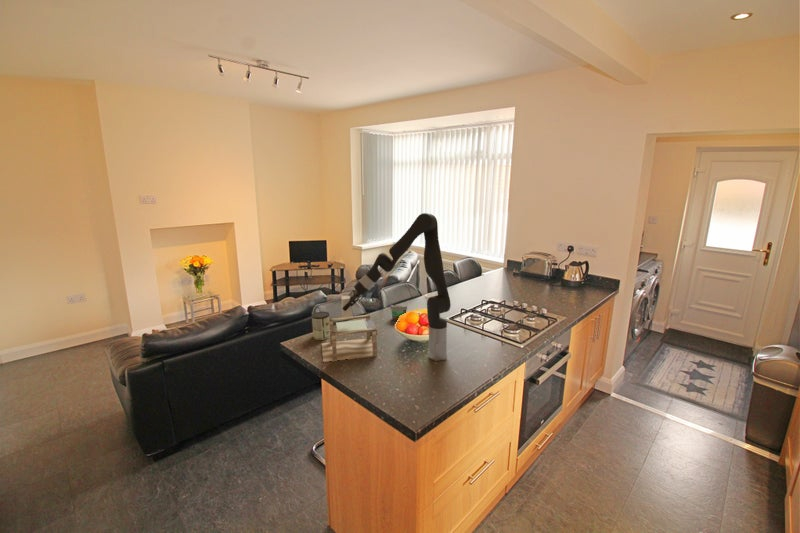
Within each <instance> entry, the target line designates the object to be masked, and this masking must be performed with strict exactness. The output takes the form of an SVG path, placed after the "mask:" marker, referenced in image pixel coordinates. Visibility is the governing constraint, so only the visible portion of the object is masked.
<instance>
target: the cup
mask: <svg viewBox="0 0 800 533" xmlns="http://www.w3.org/2000/svg"><path fill="white" fill-rule="evenodd" d="M437 295H438V293H437V292H429V293H426V294H424V298H425V300H426V302H427V301H428V299H429V298H430V297H432V296H437ZM439 316H440V317H441V313H440V314H439Z"/></svg>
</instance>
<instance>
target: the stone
mask: <svg viewBox="0 0 800 533" xmlns="http://www.w3.org/2000/svg"><path fill="white" fill-rule="evenodd" d="M350 297H351V296H348V295H344V296H343V295H342V296H341V298H340V299H341V300H340V301H341V314H342V317H351V316H353V306H350V307H349V308H348V309H347V310H346V311H344V310H343V307H344V306H345V305H346V304H347V302H348V301H349V299H350ZM351 303H352V302H351Z"/></svg>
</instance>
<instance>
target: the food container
mask: <svg viewBox="0 0 800 533" xmlns="http://www.w3.org/2000/svg"><path fill="white" fill-rule="evenodd" d="M389 309H390V313H391V320H392V319H393V320H392V321H394V322H398V321H397V320H398V318H399V316H400V315H402V314H404V313H406V314H407V310H408V306H407V305H405V306H402V305H393V303H391V304H390V305H389Z"/></svg>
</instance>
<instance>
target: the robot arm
mask: <svg viewBox="0 0 800 533" xmlns="http://www.w3.org/2000/svg"><path fill="white" fill-rule="evenodd" d="M438 225H439V224H438V219H437V218H436V216H435V215H433V214H432V213H429V212H422V213H420V214H419V215H418V216H417V218H415V220H414V221H413V223H412V224H411V225H410V226H409V228H408V229H407V230H406V232H404V234H403V235H402V236H401V237H400V238H399V239H398V240H397V241H396V242H395V243H394V244H393V245H392V246H391V247H390V248H389V250H388V252H389V254H390V256H391V257H392V258H391V257H389V255H387V254H386V253H385V252H381V253H380V254H378V255H377V257H376V258H375V260H374V263H373V264H372V266H371V268H370V269H369V270H368V271H367V272H366V273H365V274H364V275H363V276H362V277H361V278H360V279H359V280H358V281H357V283H355V285H354V287H353V288H354V289H352V290H351V291H350V293H349V294H348V295H347V296H351V297H350V299H349V301H348V302H347V304H346V305H345V306H344V307H343V310H344V311H346V310H347V309H348V308H349V307H350V306H352V307H353V306H354V305H355V304H357V302H358V301H359V300H360V296H366V295H367V294H368V293H369V292H370V290H371V289H372V288H373V287H374V285H375V284H376V283H377V282H378V281H379V280H380V279H381V278H382V274H381V272H380V270H379V269H378V268H379V267H380V268H381V269H383V271H384V272H385V273H389V272H391V271H393V269H394V268H395V266H396V264H397V263H398V261H399V259H400V258H401V257H402V256H404V254H405V253H406V252H407V251H408V250H409V249H410V247H411V246H412V245H413V243H414V241H415V240H416V239H417V238H418V237H419V236H420V235H423V238H424V244H425V245H424V251H423V263H424V268H425V272H426V275H427V276H428V277H429V278H430V279H431V281H432V282H433V283H434V285H435V288H436V293H438V295H437V296H432V297H430V298H429V299H428V301H426V309H427V310H426V311H427V322H428V358H429V359H430V360H433V361H434V362H439V361H445V360H447V352H448V351H447V346H448V345H447V343H448V339H447V338H448V337H447V336H448V335H447V332H448V321H447V320H446V319H445V318H443V317H441V314H443V313H448V312H449V311H450V309H451V305H452V304H451V298H450V295H449V291H448V287H447V283H446V277H445V271H444V264H443V263H444V262H443V257H442V253H441V247H440V241H439V228H438V227H439V226H438ZM351 302H352V303H351ZM439 314H440V316H439Z"/></svg>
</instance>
